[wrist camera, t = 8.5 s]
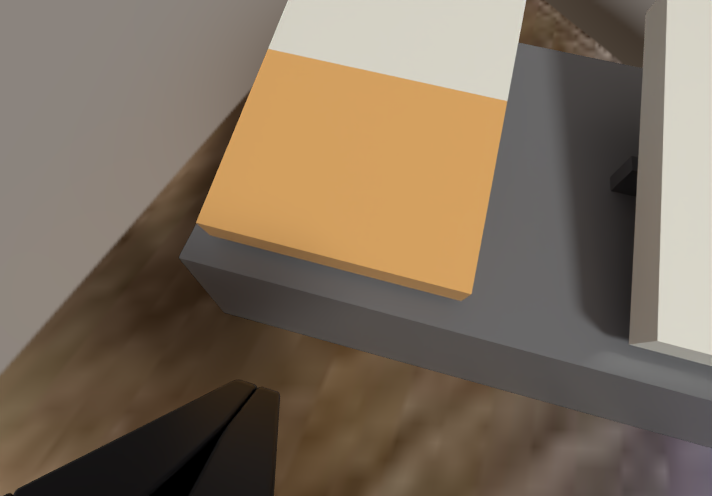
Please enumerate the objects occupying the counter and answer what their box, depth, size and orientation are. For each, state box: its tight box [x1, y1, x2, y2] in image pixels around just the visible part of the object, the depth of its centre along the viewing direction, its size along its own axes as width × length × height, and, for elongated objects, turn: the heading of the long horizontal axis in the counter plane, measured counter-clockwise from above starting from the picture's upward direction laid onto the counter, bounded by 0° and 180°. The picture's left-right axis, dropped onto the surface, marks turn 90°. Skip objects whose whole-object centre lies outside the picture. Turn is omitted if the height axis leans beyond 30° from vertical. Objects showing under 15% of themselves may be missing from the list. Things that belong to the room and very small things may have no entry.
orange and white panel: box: [196, 0, 526, 301], centre depth 17 cm, size 16×10×1 cm, turn 165°
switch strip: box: [179, 43, 712, 448], centre depth 21 cm, size 18×28×8 cm, turn 75°
